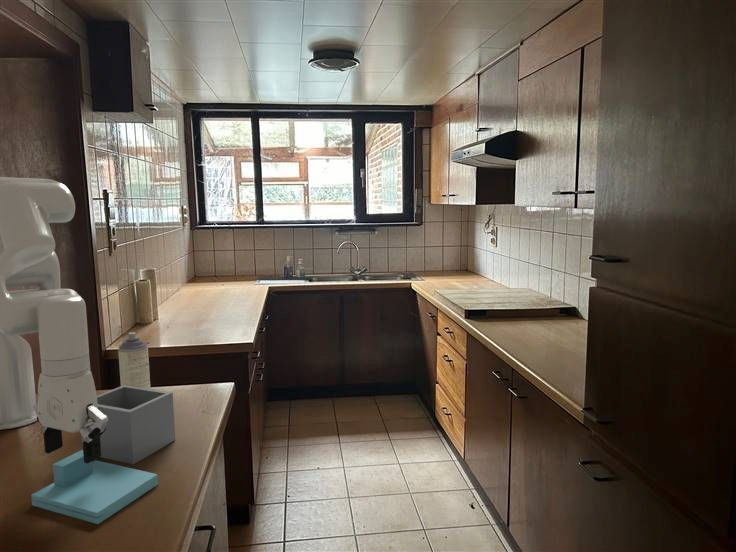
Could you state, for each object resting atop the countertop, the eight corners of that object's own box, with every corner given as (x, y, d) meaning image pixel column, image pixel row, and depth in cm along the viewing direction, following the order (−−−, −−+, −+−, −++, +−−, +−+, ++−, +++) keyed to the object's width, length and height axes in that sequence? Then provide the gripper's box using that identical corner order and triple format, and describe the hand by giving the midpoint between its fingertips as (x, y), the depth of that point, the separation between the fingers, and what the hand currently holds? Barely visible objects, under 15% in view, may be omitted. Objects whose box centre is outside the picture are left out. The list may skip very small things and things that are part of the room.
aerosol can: (145, 402, 140) (141, 328, 138) (155, 409, 136) (151, 333, 133) (118, 409, 136) (113, 333, 133) (128, 416, 131) (122, 337, 128)
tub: (82, 453, 112) (78, 403, 110) (127, 430, 123) (124, 385, 121) (133, 464, 106) (129, 412, 105) (175, 440, 118) (172, 392, 116)
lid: (32, 505, 92) (29, 472, 91) (96, 469, 104) (94, 441, 104) (97, 524, 86) (95, 489, 86) (158, 484, 99) (156, 454, 98)
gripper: (12, 365, 94) (20, 455, 96) (83, 377, 88) (90, 473, 90) (50, 353, 101) (57, 438, 103) (119, 364, 95) (125, 454, 97)
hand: (73, 454), depth 97 cm, fingers open, 9 cm apart
